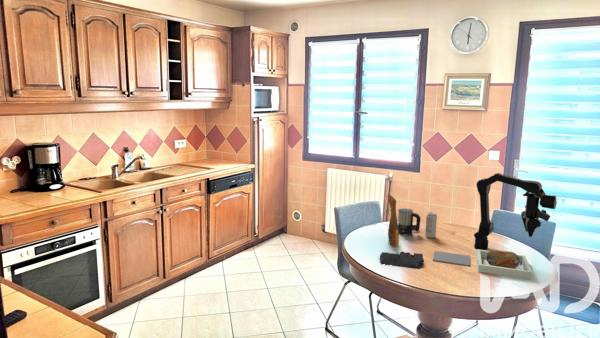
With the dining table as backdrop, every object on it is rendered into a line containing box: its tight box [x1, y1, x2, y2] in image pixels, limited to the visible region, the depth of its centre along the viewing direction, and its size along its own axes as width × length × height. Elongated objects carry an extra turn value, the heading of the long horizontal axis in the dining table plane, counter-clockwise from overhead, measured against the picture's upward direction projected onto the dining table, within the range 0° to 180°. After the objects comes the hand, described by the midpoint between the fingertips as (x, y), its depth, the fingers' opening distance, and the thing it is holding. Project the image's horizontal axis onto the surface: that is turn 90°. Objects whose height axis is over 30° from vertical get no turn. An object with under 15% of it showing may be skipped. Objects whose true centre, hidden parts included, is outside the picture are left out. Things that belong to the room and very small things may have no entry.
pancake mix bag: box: [387, 193, 400, 248], centre depth 237 cm, size 7×19×28 cm, turn 173°
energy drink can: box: [424, 211, 438, 239], centre depth 249 cm, size 6×6×15 cm
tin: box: [485, 249, 521, 269], centre depth 205 cm, size 15×3×8 cm, turn 68°
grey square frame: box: [476, 248, 533, 280], centre depth 205 cm, size 23×23×4 cm
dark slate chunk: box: [379, 251, 425, 270], centre depth 211 cm, size 15×22×5 cm
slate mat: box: [432, 250, 471, 267], centre depth 215 cm, size 18×14×1 cm
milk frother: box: [397, 208, 421, 236], centre depth 259 cm, size 14×16×15 cm
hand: (528, 234), depth 215 cm, fingers open, 9 cm apart
